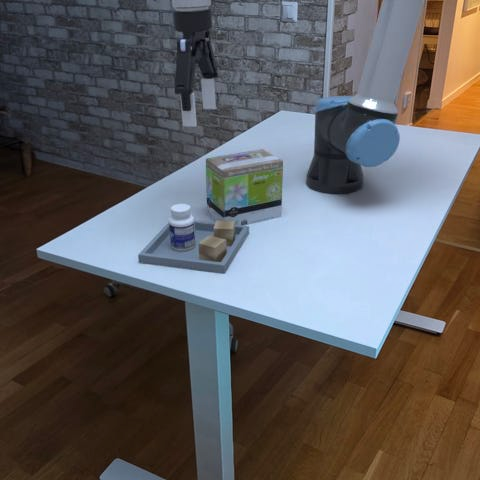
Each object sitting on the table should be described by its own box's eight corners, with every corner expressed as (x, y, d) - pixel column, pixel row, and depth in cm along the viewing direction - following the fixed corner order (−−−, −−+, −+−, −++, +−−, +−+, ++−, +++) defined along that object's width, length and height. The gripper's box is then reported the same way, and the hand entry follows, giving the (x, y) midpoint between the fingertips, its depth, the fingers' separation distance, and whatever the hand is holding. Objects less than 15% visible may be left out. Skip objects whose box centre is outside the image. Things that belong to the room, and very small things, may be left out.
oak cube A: (235, 237, 122) (234, 220, 121) (233, 246, 119) (232, 229, 117) (216, 237, 123) (216, 220, 121) (214, 245, 119) (213, 228, 117)
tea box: (225, 233, 126) (223, 170, 119) (206, 217, 134) (203, 157, 127) (283, 219, 132) (283, 158, 125) (261, 204, 140) (261, 146, 133)
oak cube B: (226, 257, 115) (226, 239, 113) (215, 265, 111) (215, 247, 110) (210, 252, 116) (209, 235, 115) (199, 260, 113) (198, 243, 112)
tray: (249, 236, 124) (248, 226, 123) (224, 276, 109) (224, 265, 108) (172, 227, 129) (172, 218, 128) (139, 265, 113) (138, 254, 112)
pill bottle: (171, 240, 122) (168, 202, 117) (195, 239, 122) (193, 201, 118) (170, 252, 117) (167, 213, 113) (196, 251, 117) (193, 212, 113)
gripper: (193, 3, 121) (201, 102, 131) (149, 16, 100) (162, 133, 109) (227, 2, 119) (232, 102, 129) (189, 15, 98) (198, 134, 107)
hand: (200, 117), depth 119 cm, fingers open, 13 cm apart
